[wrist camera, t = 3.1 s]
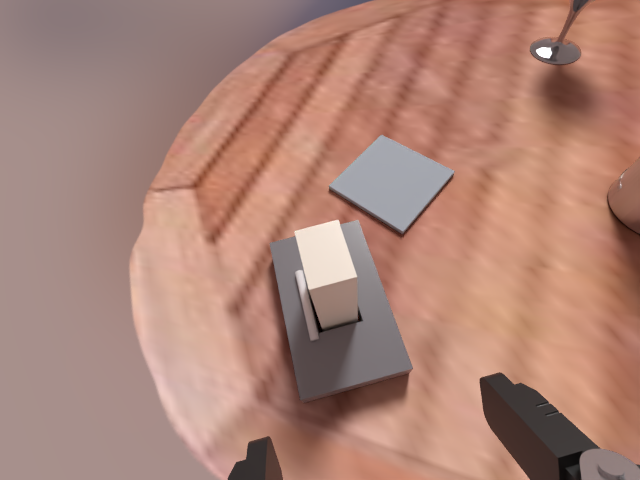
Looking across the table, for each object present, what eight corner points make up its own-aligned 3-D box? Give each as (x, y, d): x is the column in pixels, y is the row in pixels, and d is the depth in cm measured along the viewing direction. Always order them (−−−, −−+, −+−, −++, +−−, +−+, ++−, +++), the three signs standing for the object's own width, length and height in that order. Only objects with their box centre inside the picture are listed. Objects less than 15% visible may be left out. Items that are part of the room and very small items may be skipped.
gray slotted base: (409, 373, 31) (414, 366, 28) (304, 402, 31) (298, 399, 28) (358, 231, 39) (358, 215, 37) (274, 253, 39) (268, 239, 36)
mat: (453, 174, 42) (454, 171, 42) (402, 234, 39) (403, 231, 38) (381, 138, 47) (381, 134, 46) (329, 188, 43) (328, 185, 43)
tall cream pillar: (357, 325, 34) (357, 276, 24) (324, 334, 34) (308, 289, 24) (344, 281, 37) (338, 219, 26) (312, 289, 36) (294, 231, 26)
